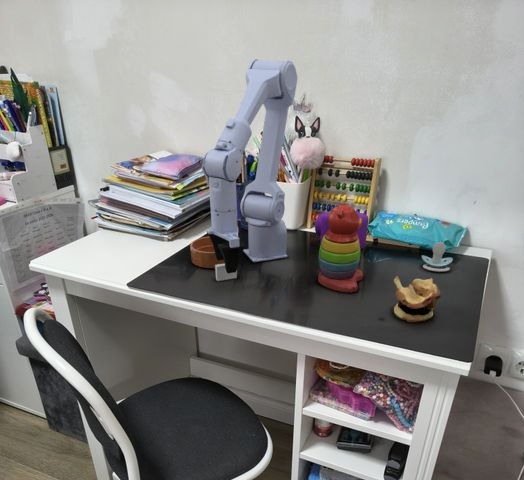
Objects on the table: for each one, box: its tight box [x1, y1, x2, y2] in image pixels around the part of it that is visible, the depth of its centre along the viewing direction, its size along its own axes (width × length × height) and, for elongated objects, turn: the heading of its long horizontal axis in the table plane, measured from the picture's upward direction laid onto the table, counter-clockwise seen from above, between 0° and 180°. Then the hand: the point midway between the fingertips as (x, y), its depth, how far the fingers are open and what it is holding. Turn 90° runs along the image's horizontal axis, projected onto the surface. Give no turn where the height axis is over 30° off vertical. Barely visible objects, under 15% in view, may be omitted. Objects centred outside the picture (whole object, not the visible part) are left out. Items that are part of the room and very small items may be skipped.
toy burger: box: [393, 275, 442, 323], centre depth 101 cm, size 12×10×8 cm
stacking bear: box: [317, 202, 364, 294], centre depth 112 cm, size 11×10×18 cm
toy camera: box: [314, 211, 369, 250], centre depth 131 cm, size 11×14×10 cm
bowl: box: [189, 236, 224, 269], centre depth 125 cm, size 11×11×4 cm
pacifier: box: [421, 241, 454, 273], centre depth 121 cm, size 7×6×6 cm
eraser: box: [214, 263, 238, 282], centre depth 117 cm, size 1×5×4 cm, turn 111°
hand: (226, 265), depth 116 cm, fingers open, 7 cm apart
